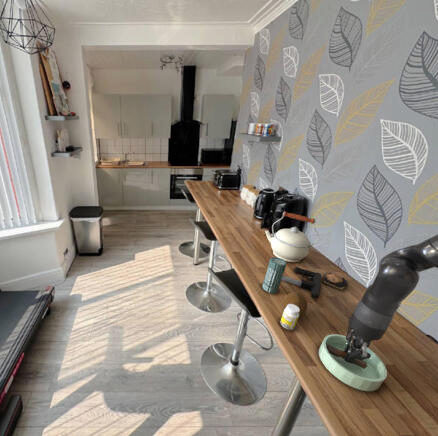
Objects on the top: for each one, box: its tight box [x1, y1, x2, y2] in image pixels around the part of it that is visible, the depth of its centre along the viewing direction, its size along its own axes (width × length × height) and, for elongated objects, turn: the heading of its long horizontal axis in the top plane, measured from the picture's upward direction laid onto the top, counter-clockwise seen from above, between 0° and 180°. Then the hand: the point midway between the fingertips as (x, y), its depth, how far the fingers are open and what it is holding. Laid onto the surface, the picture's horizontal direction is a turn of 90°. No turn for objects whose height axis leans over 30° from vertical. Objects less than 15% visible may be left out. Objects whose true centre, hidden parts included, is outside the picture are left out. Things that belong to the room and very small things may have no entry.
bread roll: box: [323, 272, 348, 291], centre depth 112 cm, size 11×8×4 cm
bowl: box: [318, 333, 388, 392], centre depth 73 cm, size 15×15×4 cm
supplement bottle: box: [279, 304, 300, 330], centre depth 86 cm, size 5×5×8 cm
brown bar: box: [327, 344, 367, 369], centre depth 74 cm, size 10×3×2 cm, turn 61°
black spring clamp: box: [281, 266, 324, 300], centre depth 111 cm, size 3×20×16 cm
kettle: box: [264, 211, 319, 263], centre depth 129 cm, size 25×18×25 cm
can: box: [261, 256, 288, 295], centre depth 103 cm, size 6×6×15 cm
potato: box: [283, 291, 308, 319], centre depth 93 cm, size 8×12×8 cm, turn 155°
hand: (347, 358), depth 74 cm, fingers closed on brown bar, 1 cm apart
